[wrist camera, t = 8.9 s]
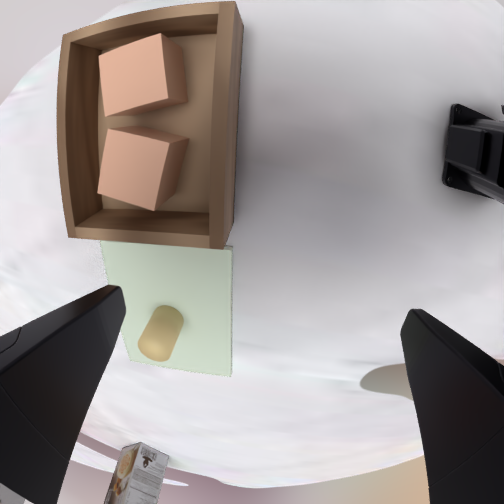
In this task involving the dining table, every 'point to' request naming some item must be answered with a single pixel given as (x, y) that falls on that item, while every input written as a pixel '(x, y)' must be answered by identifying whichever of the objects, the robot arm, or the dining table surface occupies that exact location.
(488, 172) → the robot arm
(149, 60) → the cube
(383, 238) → the dining table surface
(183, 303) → the lid
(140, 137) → the cube
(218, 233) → the box
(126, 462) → the coffee box
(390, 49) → the dining table surface
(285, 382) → the dining table surface
